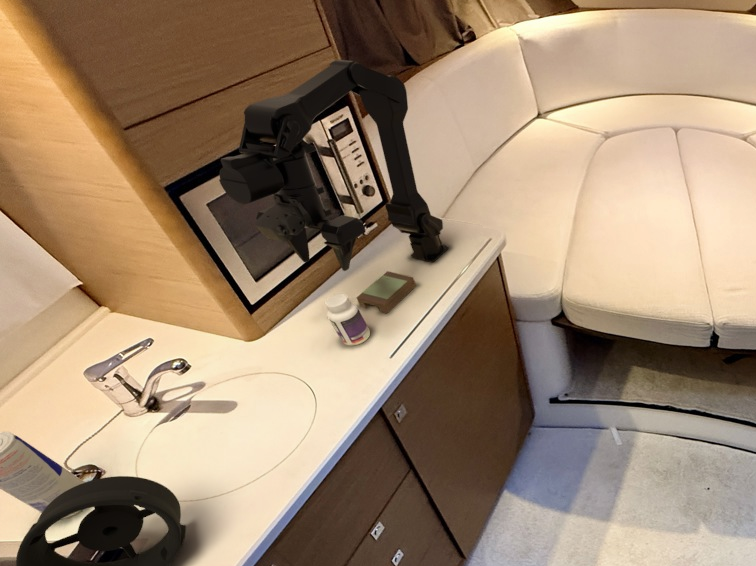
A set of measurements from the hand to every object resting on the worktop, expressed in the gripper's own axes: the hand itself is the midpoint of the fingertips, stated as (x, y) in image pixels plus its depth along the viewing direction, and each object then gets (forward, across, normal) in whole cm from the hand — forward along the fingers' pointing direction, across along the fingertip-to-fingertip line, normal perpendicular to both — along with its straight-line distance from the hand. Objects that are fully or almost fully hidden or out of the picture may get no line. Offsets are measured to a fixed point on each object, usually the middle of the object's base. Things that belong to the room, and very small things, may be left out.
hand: (326, 265), depth 97 cm
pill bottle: (+15, +3, -2) cm, 15 cm away
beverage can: (+22, -13, -45) cm, 51 cm away
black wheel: (+16, +1, -45) cm, 47 cm away
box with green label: (+13, +1, +11) cm, 17 cm away
